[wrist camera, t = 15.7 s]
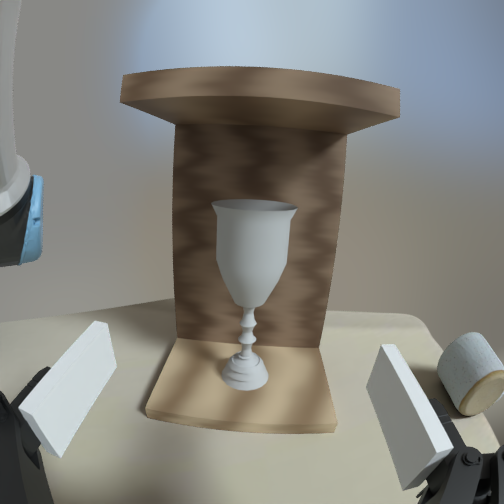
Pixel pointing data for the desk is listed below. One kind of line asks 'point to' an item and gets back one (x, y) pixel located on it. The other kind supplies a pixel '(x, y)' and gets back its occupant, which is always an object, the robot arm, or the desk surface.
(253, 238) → the chalice
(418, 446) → the robot arm
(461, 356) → the ceramic mug
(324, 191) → the walnut shelf
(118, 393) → the desk surface
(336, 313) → the desk surface
